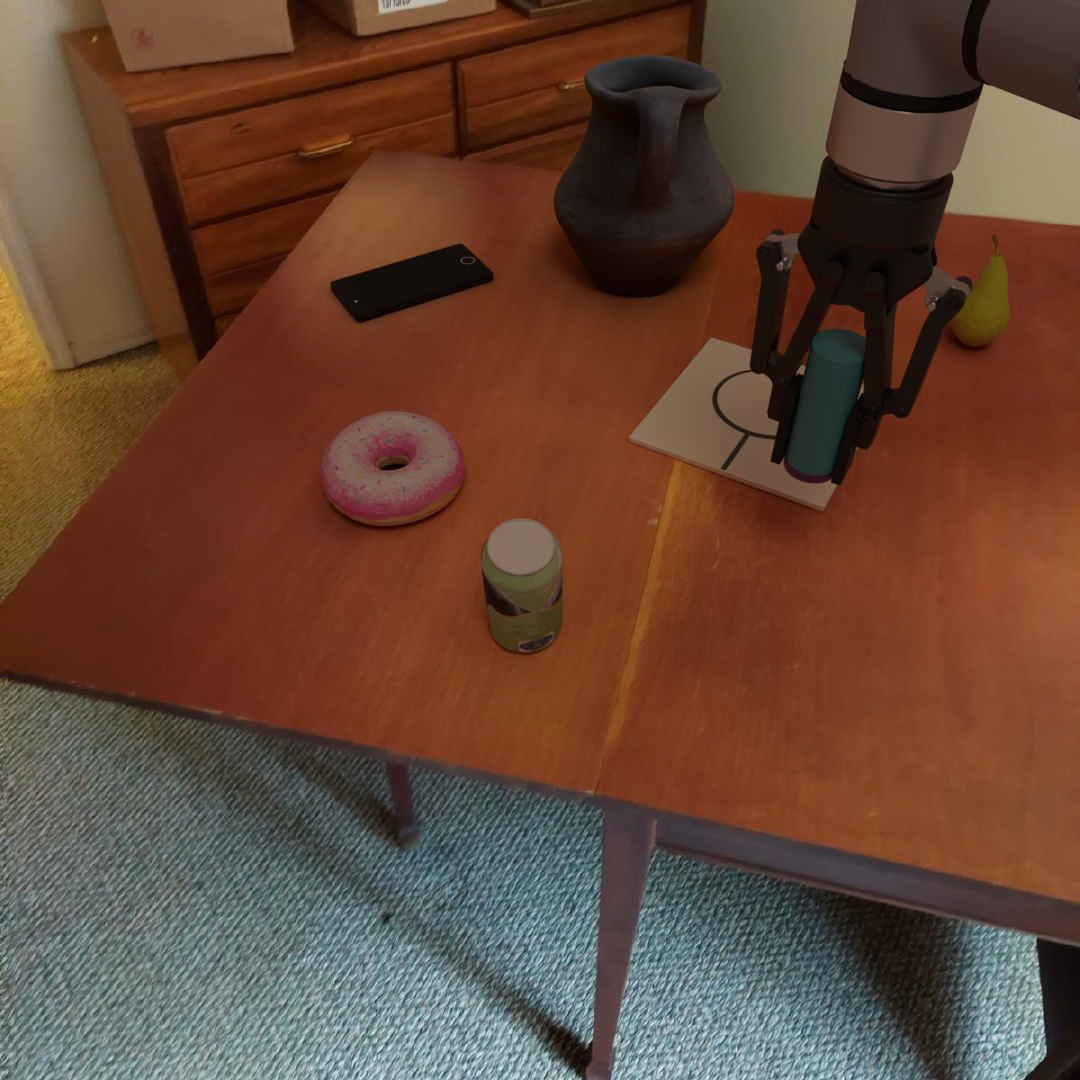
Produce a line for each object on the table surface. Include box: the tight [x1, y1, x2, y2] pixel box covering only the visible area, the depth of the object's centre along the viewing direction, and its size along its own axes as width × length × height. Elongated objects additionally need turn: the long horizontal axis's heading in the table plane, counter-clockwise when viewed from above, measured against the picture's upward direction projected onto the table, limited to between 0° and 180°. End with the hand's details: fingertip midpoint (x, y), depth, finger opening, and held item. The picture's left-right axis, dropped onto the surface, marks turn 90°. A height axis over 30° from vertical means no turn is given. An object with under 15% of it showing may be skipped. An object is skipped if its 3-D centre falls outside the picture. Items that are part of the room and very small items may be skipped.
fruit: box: [950, 234, 1011, 348], centre depth 101 cm, size 6×6×12 cm
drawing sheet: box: [628, 336, 864, 513], centre depth 97 cm, size 20×20×1 cm
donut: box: [319, 410, 466, 527], centre depth 89 cm, size 14×13×5 cm
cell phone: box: [329, 243, 495, 323], centre depth 115 cm, size 9×18×1 cm, turn 120°
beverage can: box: [480, 518, 564, 654], centre depth 74 cm, size 6×7×12 cm
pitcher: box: [553, 54, 736, 297], centre depth 107 cm, size 21×22×25 cm
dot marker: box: [783, 327, 866, 484], centre depth 69 cm, size 4×4×11 cm
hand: (810, 462), depth 72 cm, fingers closed on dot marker, 4 cm apart
